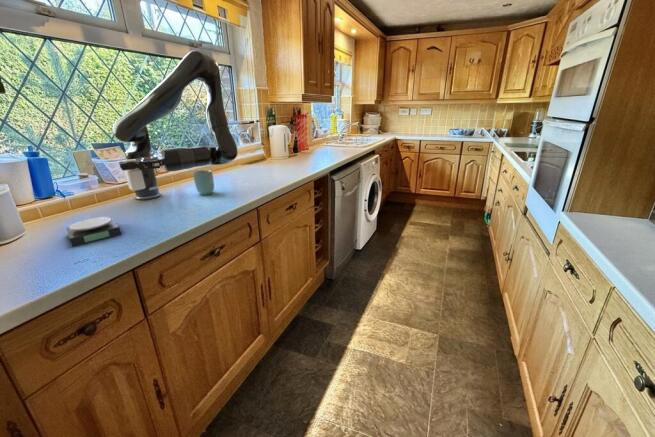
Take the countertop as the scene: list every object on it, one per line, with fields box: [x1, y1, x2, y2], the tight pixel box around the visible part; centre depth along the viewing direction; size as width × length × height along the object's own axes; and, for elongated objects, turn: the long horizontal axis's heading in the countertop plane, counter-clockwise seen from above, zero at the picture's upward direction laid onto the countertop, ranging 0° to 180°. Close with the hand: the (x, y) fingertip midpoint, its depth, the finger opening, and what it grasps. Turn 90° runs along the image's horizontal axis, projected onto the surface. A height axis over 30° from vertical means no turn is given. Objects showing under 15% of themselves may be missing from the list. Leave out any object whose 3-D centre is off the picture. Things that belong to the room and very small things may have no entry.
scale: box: [65, 216, 122, 247], centre depth 93 cm, size 12×12×4 cm
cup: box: [192, 169, 215, 196], centre depth 134 cm, size 8×8×10 cm
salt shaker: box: [123, 159, 145, 192], centre depth 97 cm, size 4×4×10 cm
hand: (120, 166), depth 94 cm, fingers closed on salt shaker, 3 cm apart
